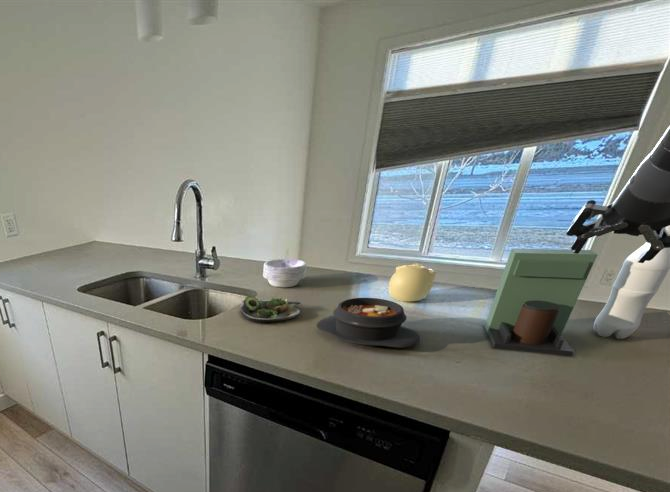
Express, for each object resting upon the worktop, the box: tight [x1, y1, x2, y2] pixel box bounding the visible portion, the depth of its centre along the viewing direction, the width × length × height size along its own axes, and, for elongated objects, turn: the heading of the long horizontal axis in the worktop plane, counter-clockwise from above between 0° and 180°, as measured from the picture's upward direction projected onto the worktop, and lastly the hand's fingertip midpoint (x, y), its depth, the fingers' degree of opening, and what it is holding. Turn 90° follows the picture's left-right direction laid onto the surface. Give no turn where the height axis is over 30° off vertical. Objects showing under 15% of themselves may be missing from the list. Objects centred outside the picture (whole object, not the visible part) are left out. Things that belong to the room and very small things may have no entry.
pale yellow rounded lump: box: [388, 263, 437, 302], centre depth 125 cm, size 12×12×11 cm
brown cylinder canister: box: [511, 300, 560, 345], centre depth 94 cm, size 6×6×8 cm
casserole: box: [316, 297, 421, 349], centre depth 105 cm, size 25×19×8 cm
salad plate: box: [239, 295, 302, 324], centre depth 126 cm, size 19×18×5 cm
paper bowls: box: [262, 258, 308, 288], centre depth 149 cm, size 15×15×8 cm
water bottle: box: [593, 226, 670, 340], centre depth 90 cm, size 7×7×25 cm
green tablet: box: [484, 248, 598, 357], centre depth 93 cm, size 14×14×20 cm
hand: (608, 254), depth 73 cm, fingers open, 8 cm apart
